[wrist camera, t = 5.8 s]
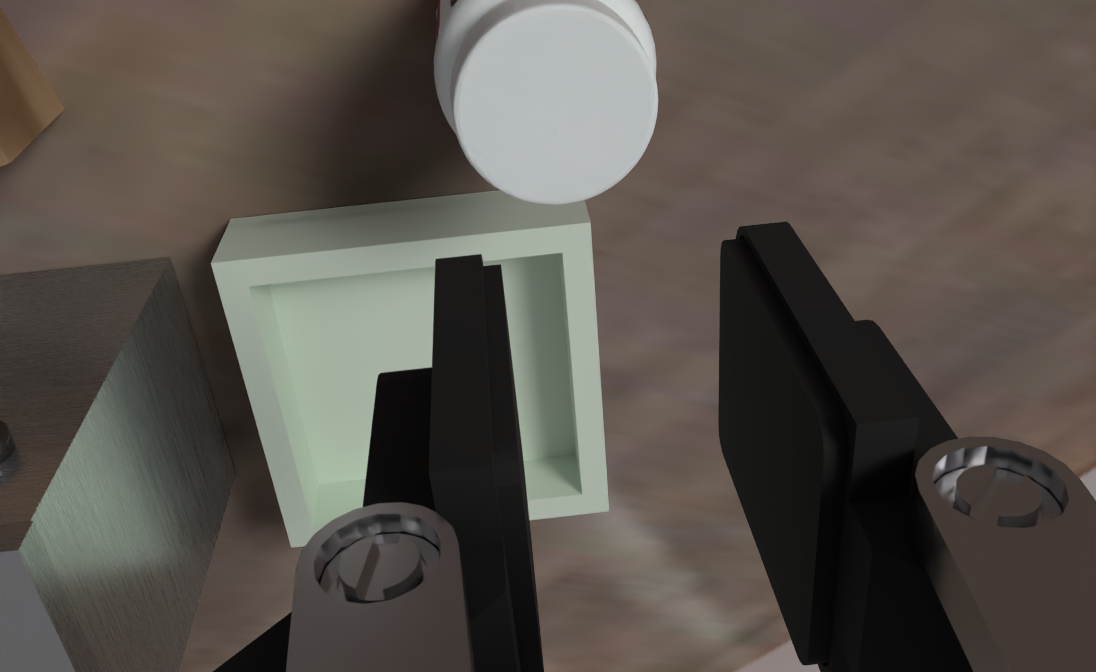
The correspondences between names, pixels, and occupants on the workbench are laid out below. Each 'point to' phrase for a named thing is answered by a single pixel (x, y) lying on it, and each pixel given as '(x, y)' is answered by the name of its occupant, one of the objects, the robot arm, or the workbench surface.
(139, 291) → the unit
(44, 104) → the walnut block
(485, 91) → the pill bottle
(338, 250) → the tray
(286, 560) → the workbench surface
